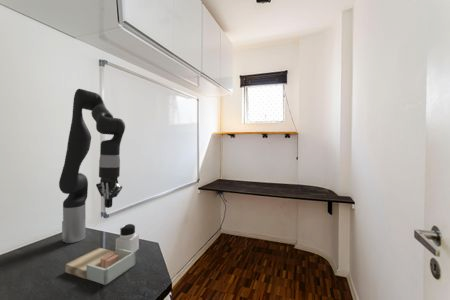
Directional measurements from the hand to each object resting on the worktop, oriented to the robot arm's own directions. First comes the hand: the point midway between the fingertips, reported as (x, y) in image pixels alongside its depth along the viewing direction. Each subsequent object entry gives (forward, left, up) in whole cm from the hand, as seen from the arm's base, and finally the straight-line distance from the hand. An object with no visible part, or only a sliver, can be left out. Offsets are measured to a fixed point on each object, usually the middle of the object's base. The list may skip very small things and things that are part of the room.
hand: (108, 207), depth 87 cm
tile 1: (+5, -5, -19) cm, 21 cm away
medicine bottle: (+2, +8, -22) cm, 24 cm away
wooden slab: (-2, -5, -22) cm, 23 cm away
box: (+8, -5, -22) cm, 24 cm away
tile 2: (+7, -5, -19) cm, 21 cm away
